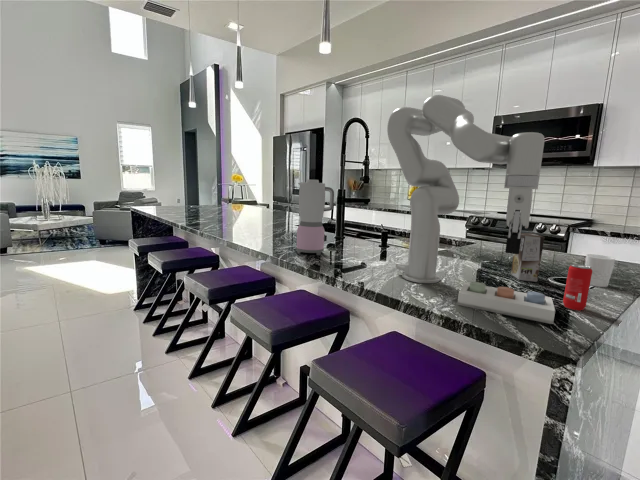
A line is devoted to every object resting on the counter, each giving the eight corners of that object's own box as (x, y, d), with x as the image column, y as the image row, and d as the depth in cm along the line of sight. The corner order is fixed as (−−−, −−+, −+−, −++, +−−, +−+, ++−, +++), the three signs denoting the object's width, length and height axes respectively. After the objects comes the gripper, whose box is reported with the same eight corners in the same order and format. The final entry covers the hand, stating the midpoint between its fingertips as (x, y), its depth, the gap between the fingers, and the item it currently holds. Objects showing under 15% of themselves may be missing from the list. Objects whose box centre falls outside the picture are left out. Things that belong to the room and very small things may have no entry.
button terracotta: (495, 298, 93) (497, 289, 92) (496, 294, 96) (498, 285, 96) (512, 301, 91) (514, 292, 90) (513, 297, 94) (514, 288, 94)
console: (457, 304, 94) (458, 292, 94) (463, 293, 105) (464, 282, 104) (553, 324, 84) (555, 311, 83) (549, 309, 94) (551, 297, 93)
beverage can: (557, 304, 98) (564, 263, 96) (574, 304, 99) (581, 263, 97) (572, 311, 93) (580, 268, 91) (590, 311, 94) (598, 268, 92)
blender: (294, 255, 147) (296, 179, 141) (296, 249, 159) (299, 179, 153) (331, 256, 146) (335, 180, 141) (330, 250, 158) (334, 180, 153)
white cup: (603, 282, 124) (609, 255, 122) (614, 289, 116) (619, 260, 114) (577, 280, 126) (582, 253, 124) (586, 285, 119) (591, 257, 117)
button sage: (468, 293, 96) (469, 284, 96) (469, 289, 100) (471, 281, 99) (483, 296, 94) (485, 287, 94) (485, 292, 98) (486, 283, 97)
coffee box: (538, 282, 121) (545, 236, 118) (518, 280, 122) (525, 235, 119) (528, 275, 130) (534, 233, 127) (509, 273, 131) (515, 231, 128)
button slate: (525, 304, 89) (527, 294, 89) (525, 299, 93) (527, 290, 92) (544, 307, 88) (545, 297, 87) (543, 302, 91) (544, 293, 90)
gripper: (539, 183, 80) (529, 260, 83) (537, 184, 93) (527, 250, 96) (503, 182, 84) (494, 255, 87) (505, 183, 96) (497, 247, 99)
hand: (512, 252), depth 91 cm, fingers closed
